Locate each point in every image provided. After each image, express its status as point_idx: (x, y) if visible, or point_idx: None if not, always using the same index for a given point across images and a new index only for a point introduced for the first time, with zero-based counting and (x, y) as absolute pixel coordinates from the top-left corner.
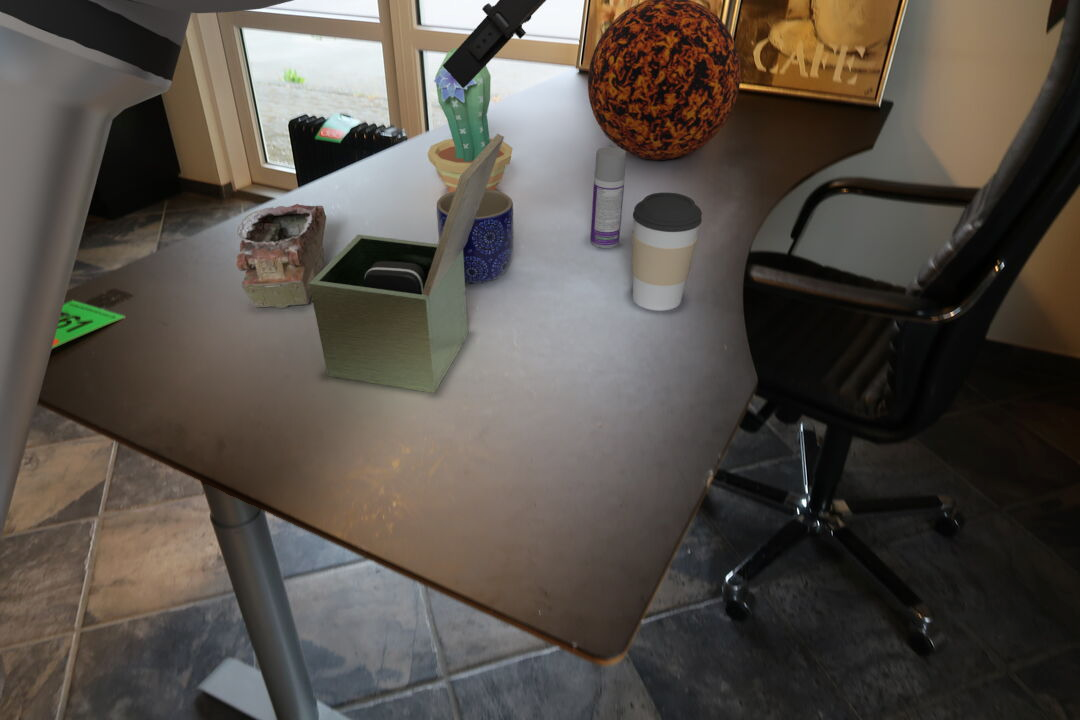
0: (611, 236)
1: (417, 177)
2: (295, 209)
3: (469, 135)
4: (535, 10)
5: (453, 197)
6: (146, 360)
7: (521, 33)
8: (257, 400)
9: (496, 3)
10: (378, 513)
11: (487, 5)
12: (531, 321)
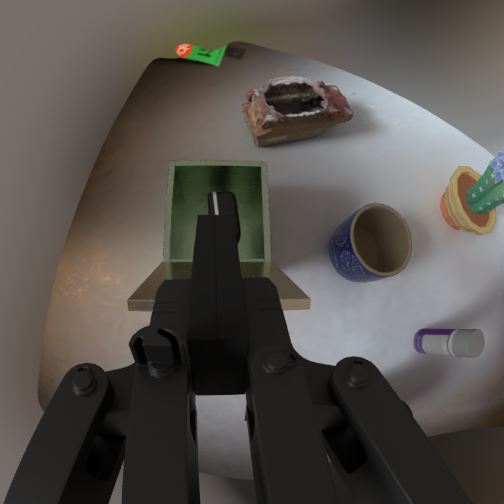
0: (420, 349)
1: (453, 164)
2: (325, 99)
3: (481, 195)
4: (327, 453)
5: (391, 213)
6: (177, 95)
7: (246, 417)
8: (148, 168)
9: (47, 408)
10: (72, 283)
11: (148, 349)
12: (291, 323)
